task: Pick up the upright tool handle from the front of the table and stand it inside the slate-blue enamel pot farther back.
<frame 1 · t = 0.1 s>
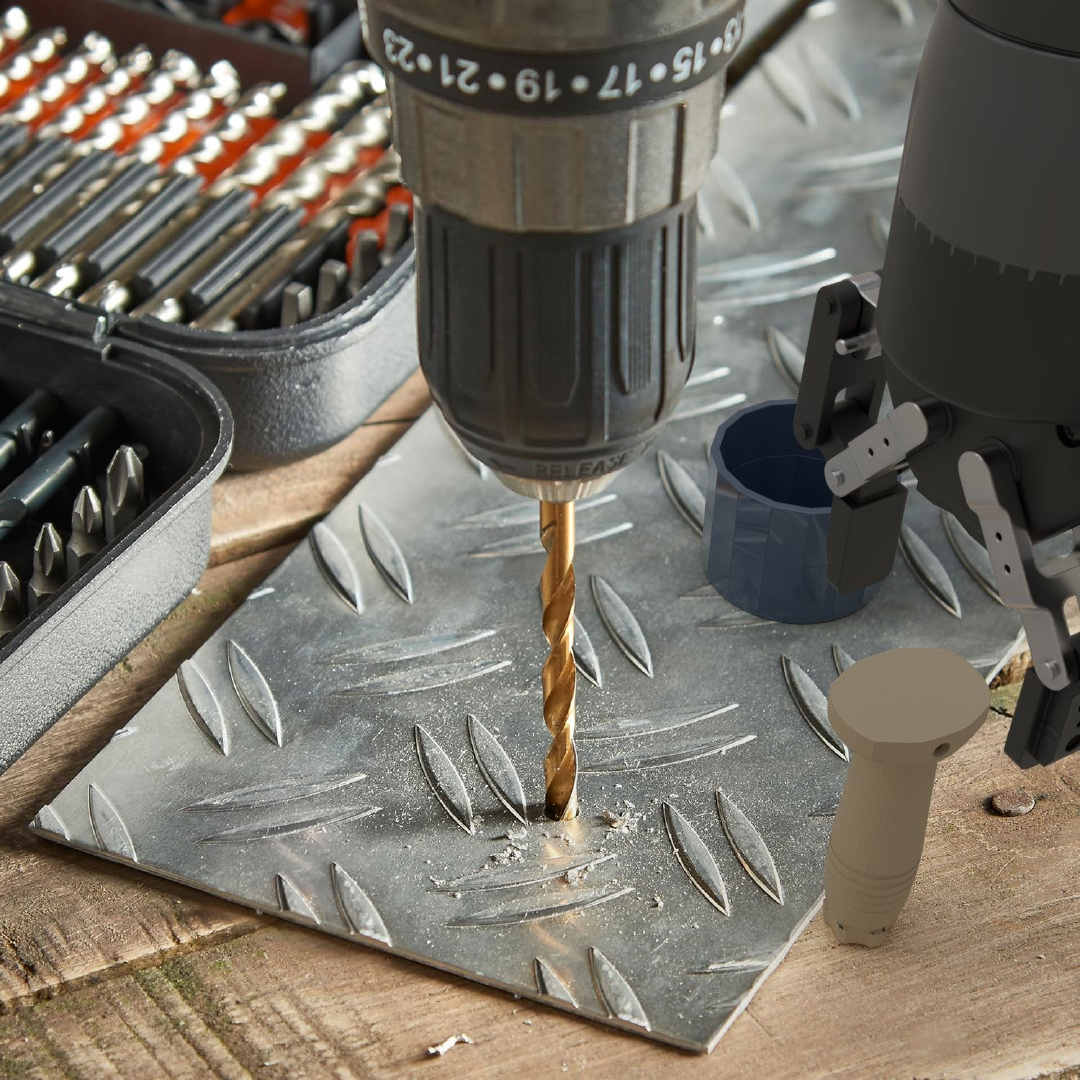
hand: (941, 661, 48), 25 cm above the table, tool pointing down, fingers open, 8 cm apart
pot: (791, 562, 89), on the table
handle: (857, 925, 70), on the table
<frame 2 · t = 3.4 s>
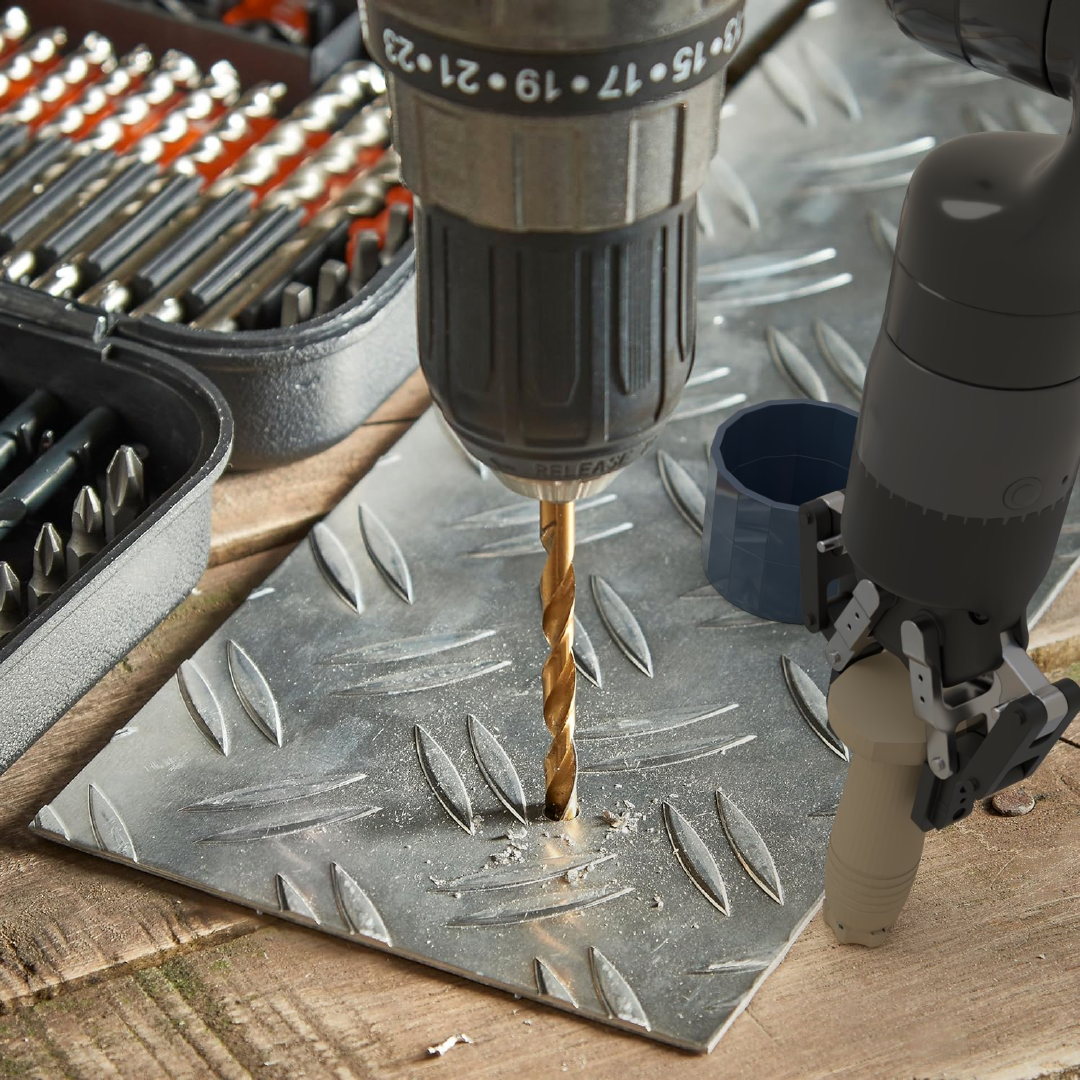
hand: (891, 771, 63), 10 cm above the table, tool pointing down, fingers closed on handle, 5 cm apart
handle: (857, 925, 70), on the table, touching gripper
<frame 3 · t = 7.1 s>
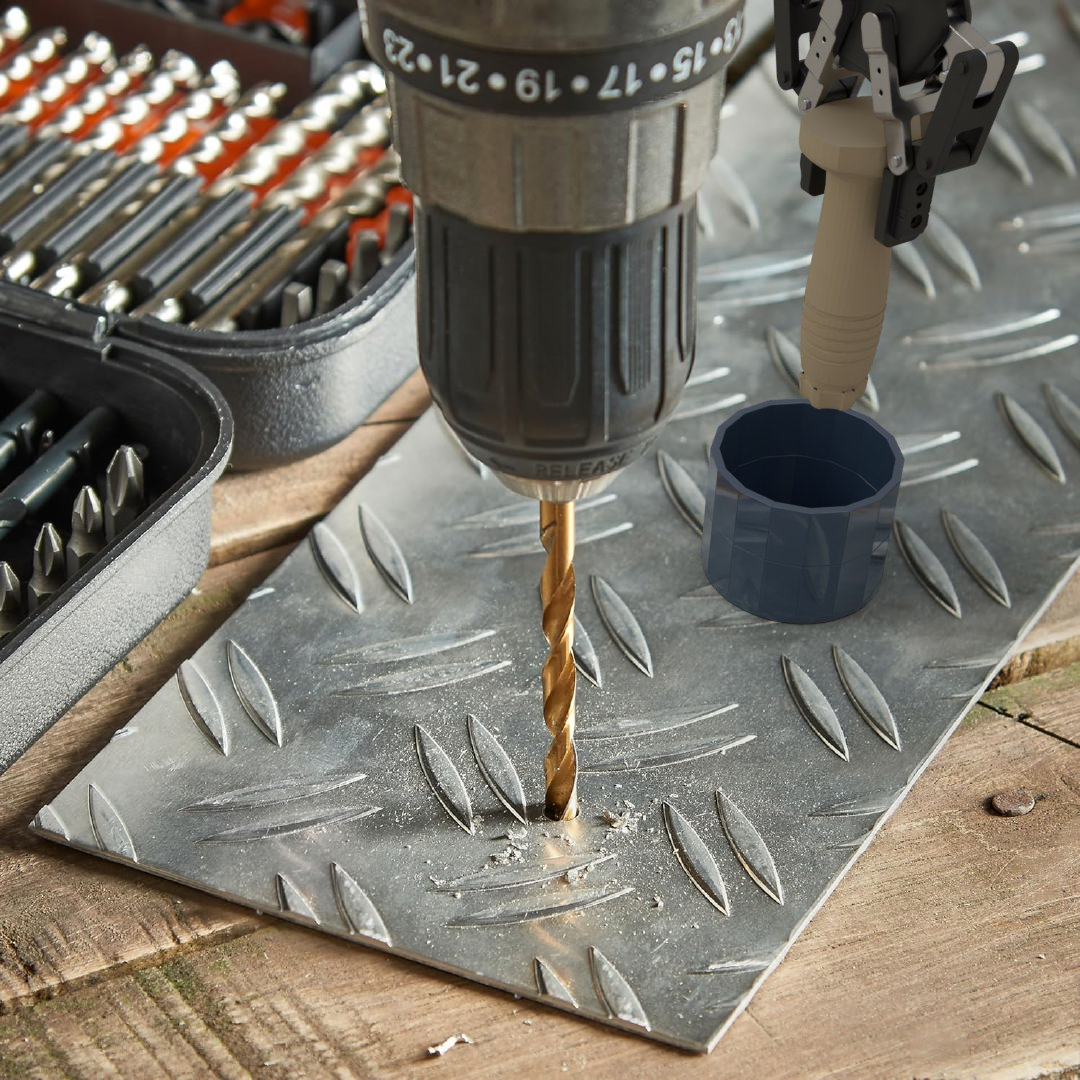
hand: (858, 212, 72), 24 cm above the table, tool pointing down, fingers closed on handle, 5 cm apart
handle: (830, 399, 78), point 14 cm above the table, touching gripper
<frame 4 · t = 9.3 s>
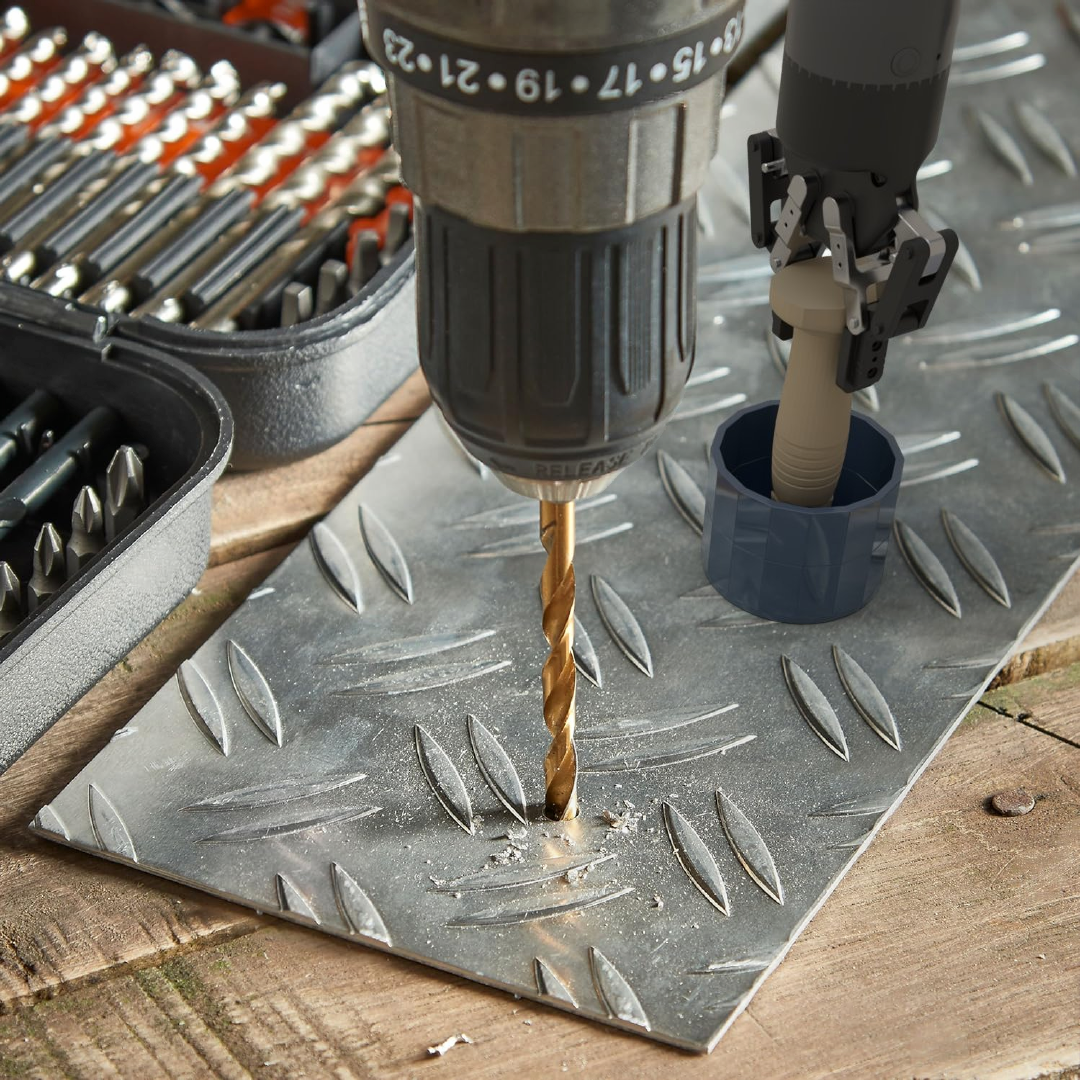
hand: (822, 358, 80), 14 cm above the table, tool pointing down, fingers closed on handle, 5 cm apart
handle: (799, 515, 87), point 4 cm above the table, touching gripper
when the fingers open (11 cm above the table, at t = 10.8 s): handle stays where it is, resting on pot.
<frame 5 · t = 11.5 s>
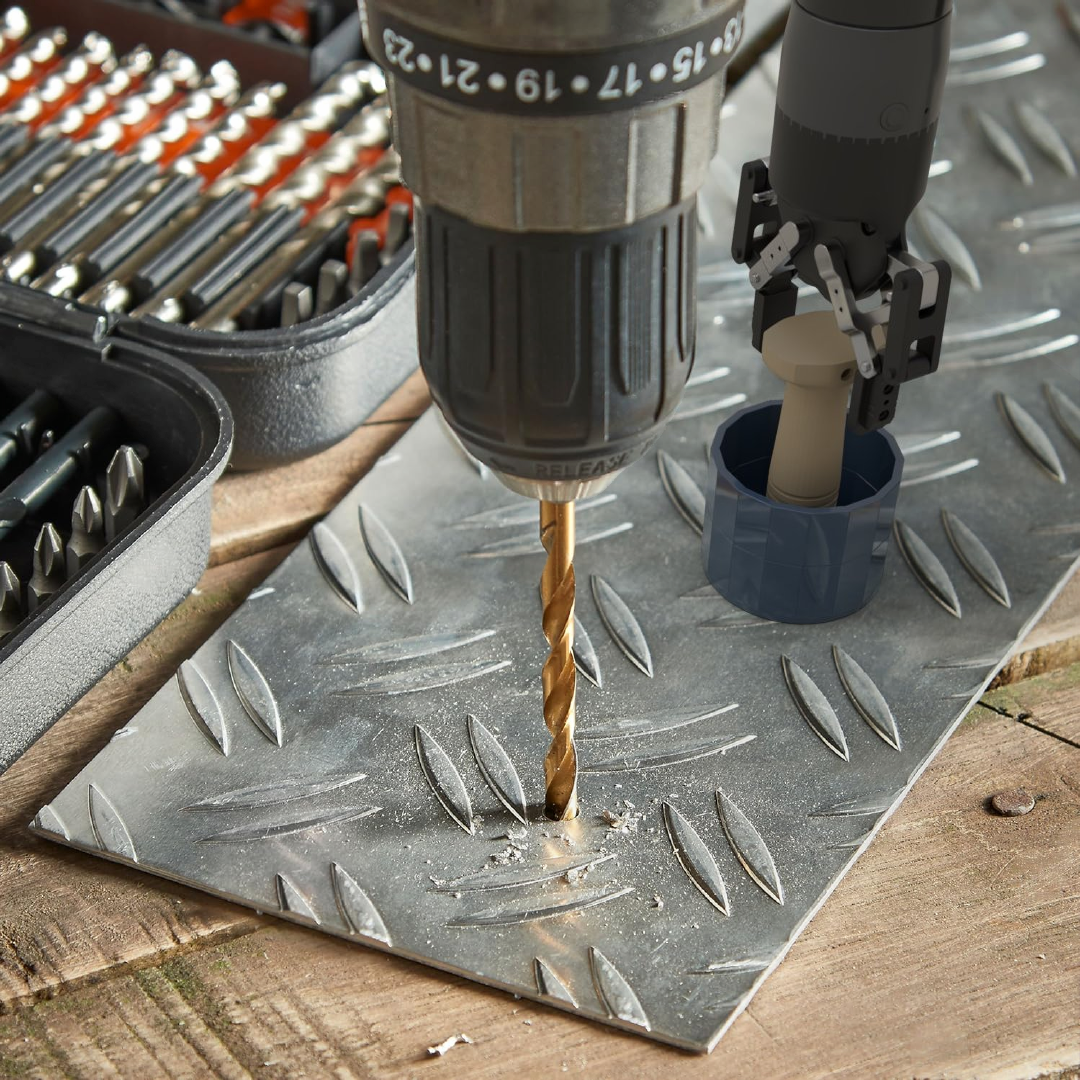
hand: (817, 386, 81), 12 cm above the table, tool pointing down, fingers open, 8 cm apart
handle: (792, 559, 89), resting on pot
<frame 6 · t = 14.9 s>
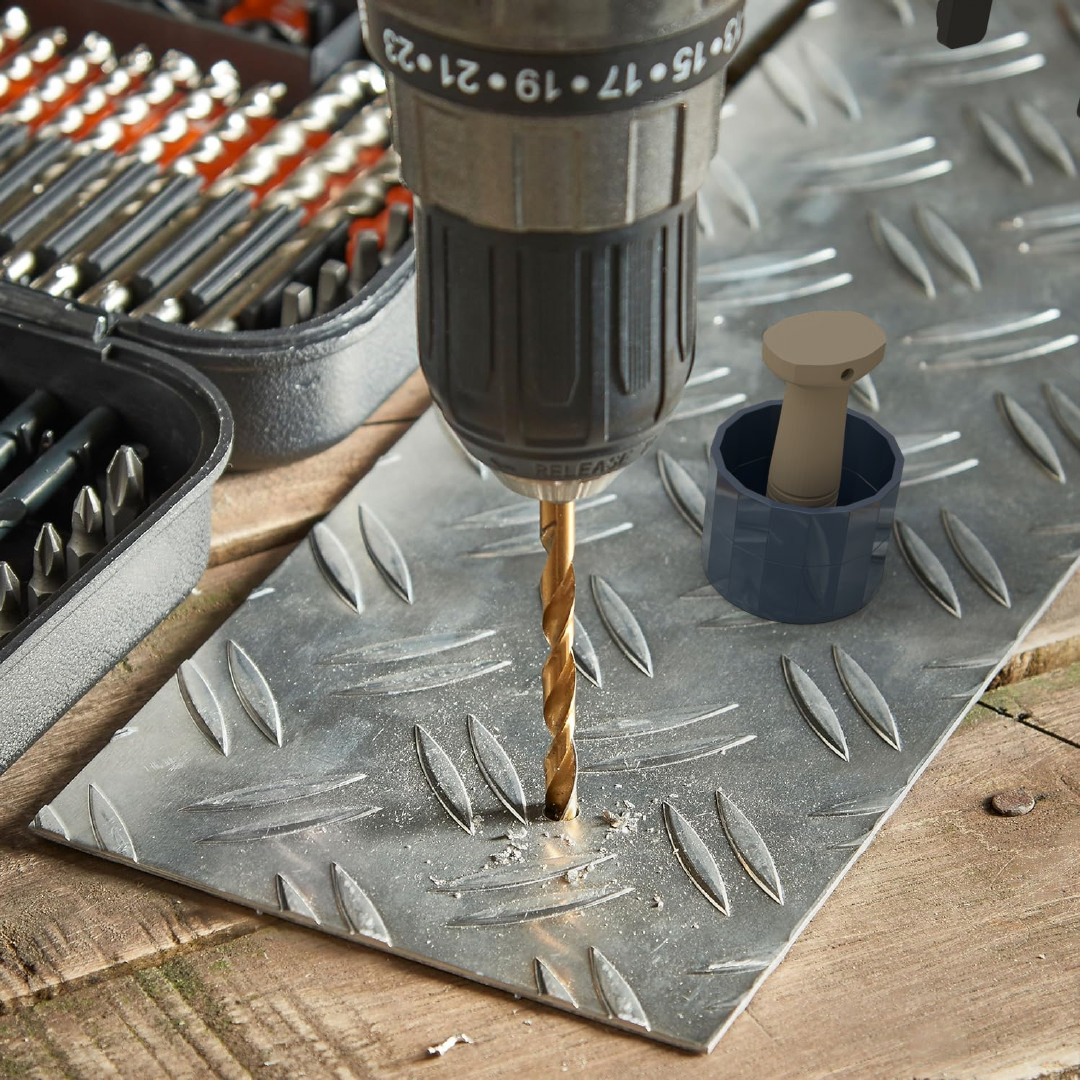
hand: (1026, 79, 64), 32 cm above the table, tool pointing down, fingers open, 8 cm apart
nothing on the table moved.
at the end: handle 0.0 cm off-centre in the pot, point 0.3 cm above the pot's base; handle tilted 0° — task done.
